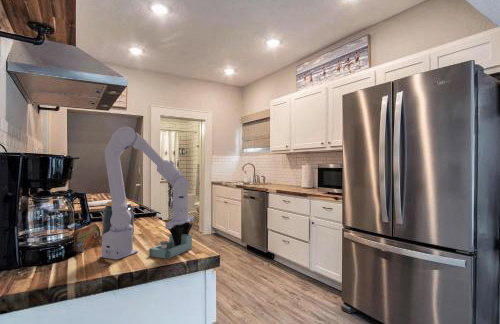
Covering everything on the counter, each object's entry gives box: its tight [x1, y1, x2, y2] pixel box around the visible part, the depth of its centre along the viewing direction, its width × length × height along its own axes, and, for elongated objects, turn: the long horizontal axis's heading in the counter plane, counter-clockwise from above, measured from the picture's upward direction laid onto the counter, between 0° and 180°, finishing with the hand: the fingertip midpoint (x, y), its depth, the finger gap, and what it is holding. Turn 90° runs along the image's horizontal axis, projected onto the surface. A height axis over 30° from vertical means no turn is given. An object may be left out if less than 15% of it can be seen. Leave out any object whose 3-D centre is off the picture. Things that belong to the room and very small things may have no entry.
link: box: [148, 233, 193, 259], centre depth 102 cm, size 13×8×5 cm, turn 156°
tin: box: [71, 224, 101, 253], centre depth 107 cm, size 15×3×8 cm, turn 179°
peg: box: [159, 240, 169, 250], centre depth 99 cm, size 2×2×5 cm
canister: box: [101, 199, 135, 236], centre depth 128 cm, size 13×13×18 cm
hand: (180, 244), depth 107 cm, fingers closed on link, 3 cm apart
